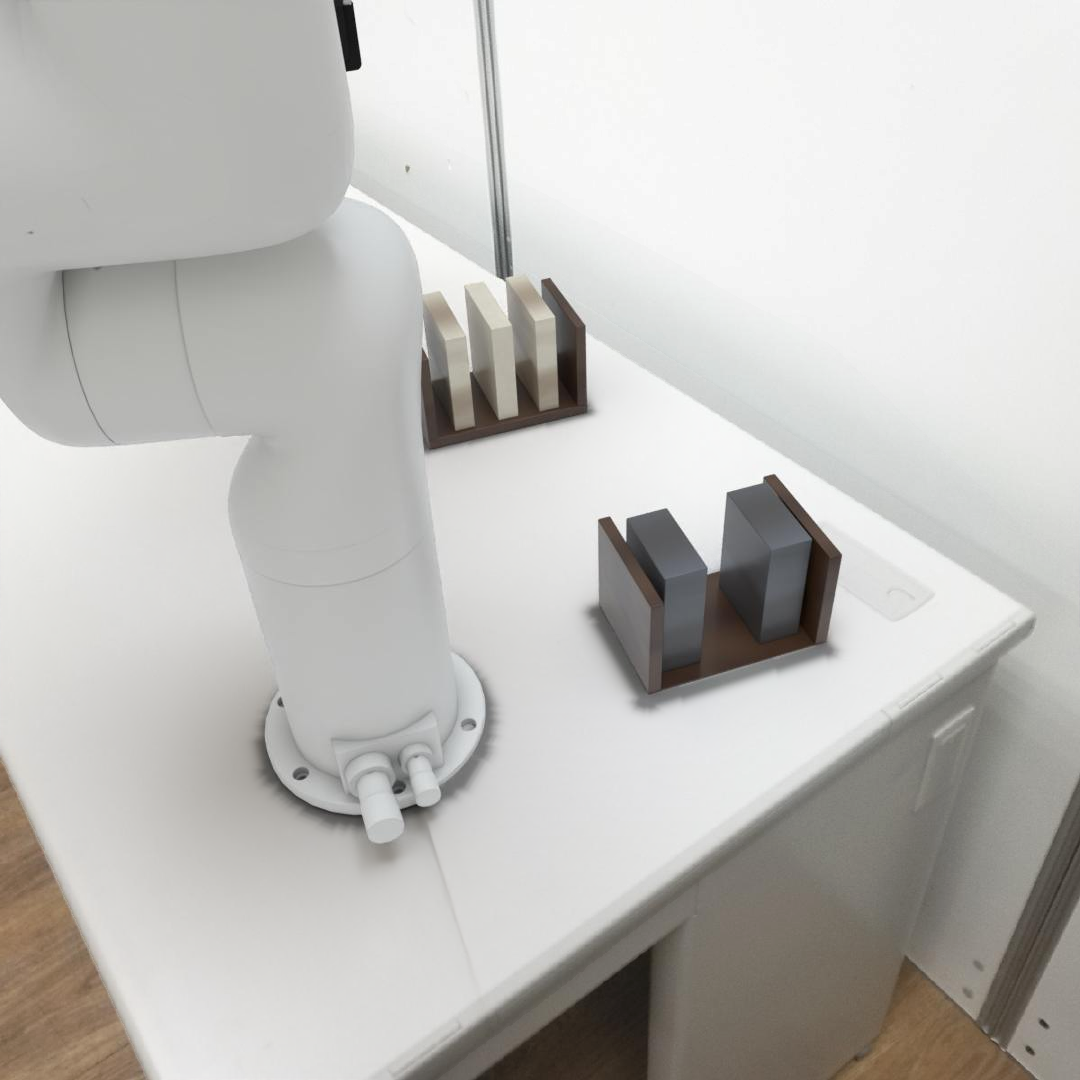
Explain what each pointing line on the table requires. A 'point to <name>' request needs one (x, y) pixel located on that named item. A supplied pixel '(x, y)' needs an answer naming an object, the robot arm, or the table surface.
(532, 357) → the brown book rack
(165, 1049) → the table surface
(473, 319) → the white book
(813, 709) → the table surface
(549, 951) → the table surface
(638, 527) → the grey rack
